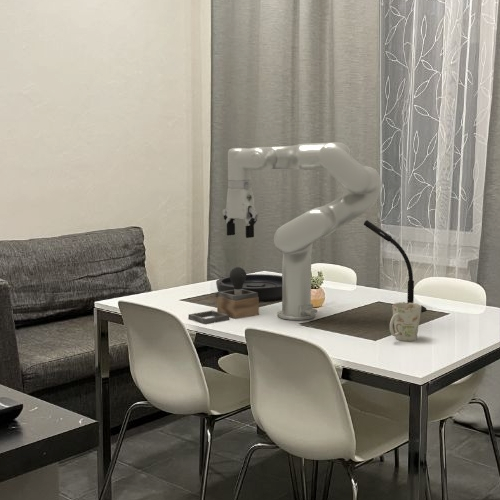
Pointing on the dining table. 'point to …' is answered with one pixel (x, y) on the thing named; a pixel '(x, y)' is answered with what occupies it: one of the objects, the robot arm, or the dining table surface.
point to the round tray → (256, 286)
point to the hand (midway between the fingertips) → (240, 236)
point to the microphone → (387, 237)
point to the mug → (405, 321)
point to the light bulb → (238, 279)
